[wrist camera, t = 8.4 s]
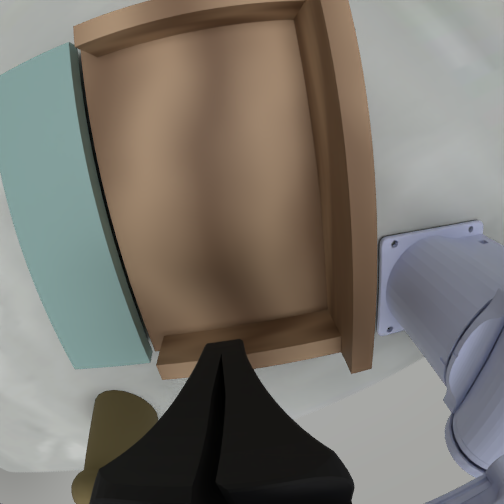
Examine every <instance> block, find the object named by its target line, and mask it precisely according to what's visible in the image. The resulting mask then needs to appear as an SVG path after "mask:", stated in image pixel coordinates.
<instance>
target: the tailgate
mask: <svg viewBox="0 0 504 504" xmlns="http://www.w3.org/2000/svg"><path fill="white" fill-rule="evenodd" d="M0 173H1V177H2V182H3V186H4V190H5V194H6V198H7V202H8V206H9V210H10V213H11V217H12V220H13V224H14V227H15V230H16V234H17V237H18V240H19V243H20V246H21V249H22V252H23V255H24V258H25V260H26V263H27V266H28V269H29V271H30V274H31V277H32V279H33V282H34V284H35V287H36V289H37V292H38V294H39V297H40V299H41V301H42V304H43V306H44V308H45V310H46V313H47V315H48V317H49V319H50V321H51V324H52V326H53V328H54V330H55V332H56V334H57V336H58V338H59V340H60V342H61V344H62V346H63V348H64V350H65V352H66V354H67V356H68V357H69V359H70V361H71V363H72V365H73V367H74V368H75V369H87V368H101V367H113V366H124V365H134V364H143V363H150V361H151V356H152V352H153V351H152V349H151V346H150V344H149V341H148V339H147V336H146V334H145V331H144V328H143V326H142V323H141V321H140V318H139V315H138V312H137V310H136V307H135V304H134V301H133V298H132V295H131V292H130V290H129V287H128V284H127V281H126V278H125V274H124V271H123V268H122V265H121V262H120V259H119V255H118V252H117V249H116V245H115V242H114V238H113V235H112V231H111V228H110V224H109V221H108V217H107V213H106V209H105V205H104V201H103V197H102V193H101V189H100V185H99V181H98V176H97V172H96V167H95V162H94V158H93V153H92V148H91V143H90V137H89V132H88V126H87V120H86V114H85V108H84V101H83V94H82V87H81V79H80V71H79V62H78V51H77V48H76V47H75V45H73V44H71V43H70V42H68V43H65V44H63V45H61V46H58V47H56V48H54V49H51V50H49V51H47V52H45V53H43V54H40V55H38V56H36V57H34V58H32V59H30V60H28V61H26V62H24V63H22V64H20V65H18V66H16V67H14V68H13V69H11V70H9V71H7V72H5V73H4V74H2V75H0Z"/></svg>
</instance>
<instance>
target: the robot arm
mask: <svg viewBox="0 0 504 504" xmlns="http://www.w3.org/2000/svg"><path fill="white" fill-rule="evenodd" d="M469 227H470V229H469ZM468 229H469V231H468ZM393 241H396V242H395V244H394V245H393V246H391V244H392V242H393ZM389 327H390V328H389ZM388 328H389V329H388ZM403 330H405V331H406V333H407V334H408V335H409V337H410V338H411V339H412V340H413V342H414V343H415V344H416V346H417V347H418V348H419V350H420V351H421V352H422V354H423V355H424V357H425V358H426V359H427V361H428V362H429V363H430V365H431V366H432V367H433V369H434V370H435V371H436V373H437V374H438V376H439V377H440V379H441V380H442V381H443V383H444V384H445V386H446V387H447V392H446V395H445V397H444V399H443V401H444V402H445V404H446V405H447V407H448V408H449V409H450V411H451V415H450V417H449V418H448V420H447V423H446V427H445V439H446V444H447V447H448V449H449V452H450V454H451V455H452V457H453V459H454V460H455V461H456V463H457V464H458V465H459V466H460V467H461V468H462V469H463V470H464V471H466V472H467V473H468V474H470V475H471V476H473V477H475V479H474V480H472V481H470V482H468V483H466V484H464V485H462V486H461V487H459V488H457V489H455V490H453V491H451V492H448V493H447V494H445V495H442V496H440V497H438V498H436V499H433V500H431V501H429V502H427V503H425V504H504V246H503V245H501V244H499V243H498V242H496V241H494V240H492V239H491V238H489V237H487V236H485V235H483V223H482V222H481V221H479V220H475V221H470V222H464V223H459V224H453V225H448V226H442V227H437V228H431V229H426V230H420V231H414V232H409V233H403V234H398V235H392V236H386V237H384V238H382V239H381V241H380V261H379V299H378V318H377V333H378V334H379V335H380V336H385V335H388V334H392V333H396V332H399V331H403ZM353 491H354V482H353V479H352V477H351V476H350V474H349V472H348V470H347V468H346V467H345V465H344V464H343V463H342V461H341V460H340V459H339V457H338V456H337V455H336V453H335V452H334V451H333V450H331V449H329V448H328V447H326V446H325V445H323V444H322V443H320V442H319V441H318V440H316V439H315V438H313V437H312V436H311V435H310V434H309V433H307V432H306V431H305V430H303V429H302V428H301V427H300V426H299V425H298V424H297V423H296V422H295V421H294V420H293V419H291V418H290V417H289V416H288V415H287V414H286V413H285V412H284V410H283V409H282V408H281V407H280V406H279V405H278V404H277V403H276V401H275V400H274V399H273V398H272V397H271V395H270V394H269V393H268V391H267V390H266V389H265V387H264V386H263V384H262V383H261V381H260V380H259V378H258V377H257V375H256V373H255V371H254V369H253V368H252V366H251V364H250V362H249V360H248V357H247V355H246V352H245V347H244V343H243V340H241V339H235V340H228V341H221V342H214V343H207V344H206V345H205V347H204V349H203V351H202V353H201V356H200V358H199V360H198V362H197V364H196V366H195V368H194V369H193V371H192V373H191V375H190V376H189V378H188V380H187V382H186V383H185V385H184V387H183V388H182V390H181V391H180V393H179V394H178V396H177V397H176V399H175V400H174V402H173V403H172V404H171V406H170V407H169V408H168V410H167V411H166V412H165V413H164V415H163V416H162V417H161V418H160V419H159V420H158V422H157V423H156V424H155V425H154V426H153V427H152V428H151V429H150V430H149V431H148V432H147V433H146V434H145V435H144V436H143V437H142V438H141V439H140V440H138V441H137V442H136V443H135V444H134V445H133V446H131V447H130V448H129V449H128V450H126V451H125V452H124V453H122V454H121V455H120V456H118V457H117V458H115V459H114V460H112V461H111V462H109V463H108V464H106V465H105V466H103V467H101V468H100V469H99V470H98V473H97V476H96V478H95V482H94V486H93V490H92V494H91V498H90V502H89V504H352V502H351V499H352V495H353ZM0 504H2V503H0Z"/></svg>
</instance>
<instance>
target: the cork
mask: <svg viewBox="0 0 504 504" xmlns="http://www.w3.org/2000/svg"><path fill="white" fill-rule="evenodd" d="M157 421H158V417H157V413H156V411H155V410H154V408H153V407H152V406H151V405H150V404H149V403H147V402H146V401H145V400H144V399H142V398H140V397H138V396H136V395H134V394H131V393H128V392H125V391H117V390H111V391H105V392H103V393H101V394H99V395H98V397H97V398H96V400H95V405H94V410H93V415H92V421H91V427H90V432H89V439H88V445H87V452H86V459H85V466H84V470H83V471H82V472H80V473H79V474H78V475H77V476H76V478H75V479H74V481H73V483H72V496H73V499H74V502H75V503H76V504H89V502H90V498H91V494H92V490H93V486H94V482H95V478H96V476H97V473H98V470H99V469H100V468H101V467H103V466H105V465H106V464H108V463H109V462H111V461H112V460H114V459H115V458H117V457H118V456H120V455H121V454H122V453H124V452H125V451H126V450H128V449H129V448H130V447H131V446H133V445H134V444H135V443H136V442H137V441H138V440H140V439H141V438H142V437H143V436H144V435H145V434H146V433H147V432H148V431H149V430H150V429H151V428H152V427H153V426H154V425H155V424H156V423H157Z"/></svg>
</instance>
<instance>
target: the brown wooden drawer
mask: <svg viewBox="0 0 504 504" xmlns="http://www.w3.org/2000/svg"><path fill="white" fill-rule="evenodd" d="M73 28H74V43H75V47H76V48H78V49H80V50H81V60H82V69H83V77H84V85H85V93H86V100H87V106H88V113H89V119H90V124H91V130H92V136H93V141H94V146H95V151H96V156H97V161H98V166H99V170H100V175H101V179H102V184H103V188H104V192H105V196H106V200H107V204H108V208H109V212H110V216H111V220H112V223H113V227H114V231H115V234H116V238H117V241H118V245H119V248H120V251H121V255H122V258H123V261H124V265H125V268H126V271H127V274H128V277H129V280H130V283H131V286H132V289H133V292H134V295H135V298H136V301H137V304H138V307H139V310H140V312H141V315H142V318H143V321H144V323H145V326H146V329H147V331H148V334H149V337H150V339H151V342H152V344H153V347H154V349H155V351H160V352H159V356H158V360H157V364H156V366H157V368H158V371H159V373H160V375H161V378H162V380H166V379H177V378H187V377H189V376H190V375H191V373H192V371H193V369H194V368H195V366H196V364H197V362H198V360H199V358H200V356H201V353H202V351H203V349H204V347H205V345H206V344H207V343H214V342H221V341H228V340H235V339H241V340H243V343H244V347H245V352H246V355H247V357H248V360H249V362H250V364H251V366H252V368H253V369H256V368H262V367H268V366H274V365H280V364H285V363H291V362H296V361H301V360H306V359H311V358H316V357H321V356H325V355H330V354H334V353H339V352H341V353H342V355H343V357H344V359H345V361H346V363H347V365H348V368H349V370H350V372H351V374H353V373H357V372H361V371H364V370H368V369H372V358H373V347H374V333H375V317H376V295H377V210H376V188H375V172H374V159H373V148H372V137H371V128H370V119H369V111H368V103H367V96H366V89H365V82H364V76H363V70H362V64H361V58H360V53H359V47H358V42H357V37H356V32H355V28H354V23H353V18H352V14H351V10H350V6H349V1H348V0H150V1H146V2H142V3H139V4H135V5H132V6H129V7H125V8H122V9H119V10H116V11H113V12H110V13H107V14H104V15H102V16H99V17H96V18H93V19H91V20H88V21H86V22H83V23H81V24H78V25H76V26H73Z"/></svg>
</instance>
